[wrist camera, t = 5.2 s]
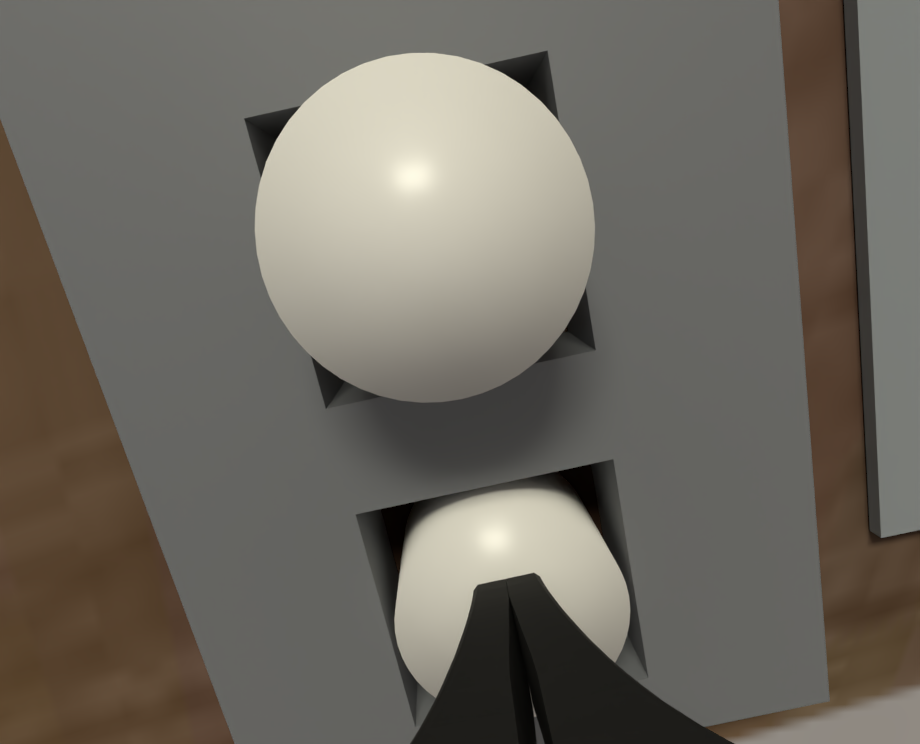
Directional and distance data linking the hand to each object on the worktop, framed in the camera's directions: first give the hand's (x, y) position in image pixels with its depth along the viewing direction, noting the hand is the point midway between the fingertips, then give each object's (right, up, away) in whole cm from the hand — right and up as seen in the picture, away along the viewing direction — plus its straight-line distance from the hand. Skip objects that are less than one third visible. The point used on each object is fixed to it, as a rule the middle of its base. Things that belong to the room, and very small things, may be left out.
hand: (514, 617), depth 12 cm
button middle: (-2, +8, -1) cm, 8 cm away
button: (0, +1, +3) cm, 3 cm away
